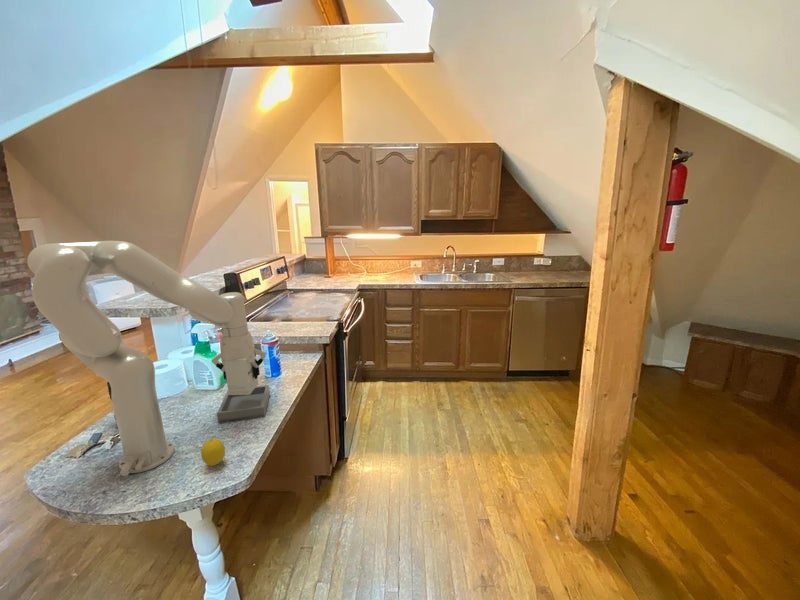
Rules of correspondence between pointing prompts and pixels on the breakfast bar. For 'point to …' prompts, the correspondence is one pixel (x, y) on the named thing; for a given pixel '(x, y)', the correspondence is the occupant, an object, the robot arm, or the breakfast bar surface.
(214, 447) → the lemon
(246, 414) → the tray
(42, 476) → the breakfast bar surface
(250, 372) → the supplement box
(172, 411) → the breakfast bar surface
